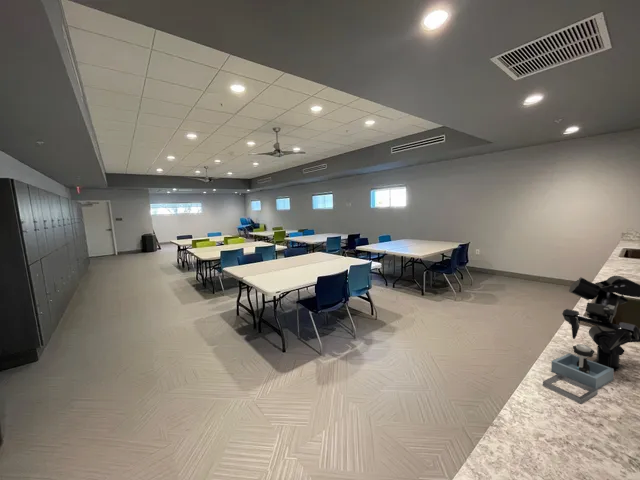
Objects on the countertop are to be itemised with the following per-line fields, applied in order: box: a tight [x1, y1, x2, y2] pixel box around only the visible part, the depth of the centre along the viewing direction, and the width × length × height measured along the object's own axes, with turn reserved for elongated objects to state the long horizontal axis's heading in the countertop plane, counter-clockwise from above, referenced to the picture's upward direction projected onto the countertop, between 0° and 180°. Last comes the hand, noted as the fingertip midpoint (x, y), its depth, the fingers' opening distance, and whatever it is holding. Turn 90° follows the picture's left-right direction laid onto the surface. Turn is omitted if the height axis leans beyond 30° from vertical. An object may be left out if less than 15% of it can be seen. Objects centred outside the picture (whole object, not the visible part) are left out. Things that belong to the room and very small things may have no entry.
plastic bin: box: [550, 352, 615, 390], centre depth 94 cm, size 12×12×4 cm
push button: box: [572, 343, 595, 374], centre depth 94 cm, size 7×5×10 cm
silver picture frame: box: [542, 373, 599, 405], centre depth 87 cm, size 10×10×2 cm
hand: (590, 343), depth 94 cm, fingers open, 9 cm apart
